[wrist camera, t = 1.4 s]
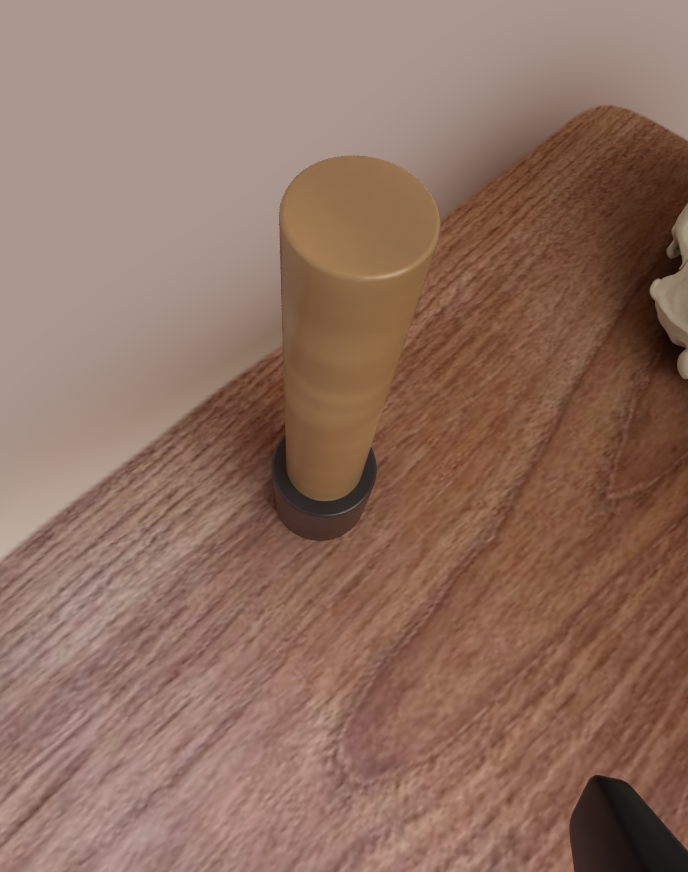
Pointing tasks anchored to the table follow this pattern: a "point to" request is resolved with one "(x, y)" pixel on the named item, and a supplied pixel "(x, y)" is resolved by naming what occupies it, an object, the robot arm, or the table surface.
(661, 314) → the animal skull
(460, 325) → the table surface
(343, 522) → the wooden furniture leg
